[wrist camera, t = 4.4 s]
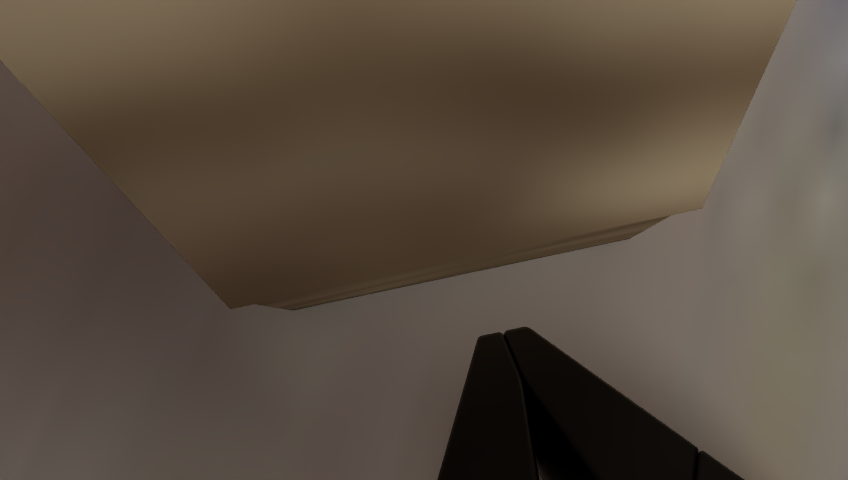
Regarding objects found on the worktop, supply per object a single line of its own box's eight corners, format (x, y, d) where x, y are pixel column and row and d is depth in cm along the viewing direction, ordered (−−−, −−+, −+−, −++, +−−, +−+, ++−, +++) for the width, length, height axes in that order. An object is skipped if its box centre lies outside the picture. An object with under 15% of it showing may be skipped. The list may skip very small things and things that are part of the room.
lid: (692, 193, 16) (701, 208, 16) (231, 291, 16) (230, 308, 16) (970, -473, 6) (1013, -472, 6) (-197, -199, 6) (-224, -182, 6)
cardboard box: (629, 238, 22) (691, 203, 16) (292, 310, 22) (236, 300, 16) (554, -25, 24) (585, -137, 18) (249, 43, 24) (187, -47, 19)
